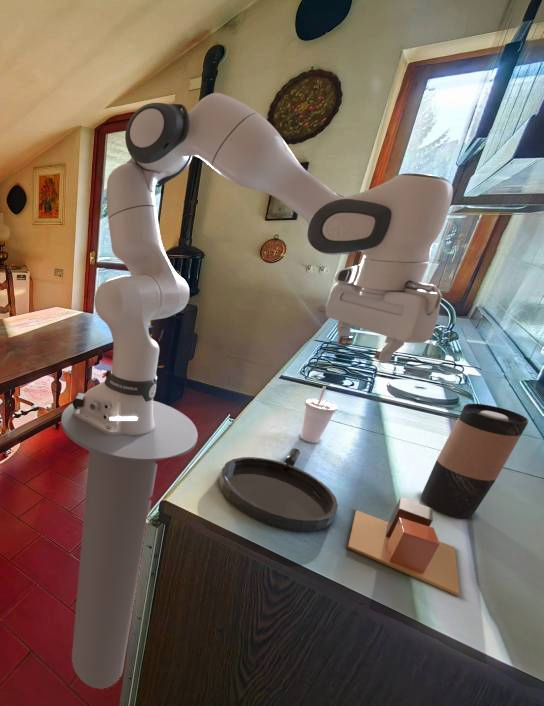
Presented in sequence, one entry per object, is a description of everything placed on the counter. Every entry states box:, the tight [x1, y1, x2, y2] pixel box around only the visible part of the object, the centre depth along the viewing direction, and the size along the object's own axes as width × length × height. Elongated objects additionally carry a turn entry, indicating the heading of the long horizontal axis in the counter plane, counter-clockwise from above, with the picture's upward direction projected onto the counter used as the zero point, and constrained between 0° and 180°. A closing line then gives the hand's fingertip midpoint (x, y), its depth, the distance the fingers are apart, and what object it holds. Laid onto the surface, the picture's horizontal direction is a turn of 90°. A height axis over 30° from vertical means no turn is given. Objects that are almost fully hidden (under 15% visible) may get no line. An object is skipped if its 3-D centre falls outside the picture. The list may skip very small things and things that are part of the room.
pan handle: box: [283, 447, 301, 471], centre depth 85 cm, size 2×10×2 cm, turn 137°
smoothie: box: [300, 386, 338, 444], centre depth 94 cm, size 6×6×14 cm
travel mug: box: [420, 403, 529, 519], centre depth 71 cm, size 8×8×20 cm
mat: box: [347, 509, 460, 597], centre depth 64 cm, size 13×12×1 cm
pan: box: [218, 456, 339, 533], centre depth 76 cm, size 19×19×2 cm
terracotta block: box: [386, 518, 440, 574], centre depth 60 cm, size 4×4×6 cm
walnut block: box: [386, 497, 434, 538], centre depth 65 cm, size 4×4×6 cm
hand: (361, 352), depth 74 cm, fingers open, 8 cm apart
